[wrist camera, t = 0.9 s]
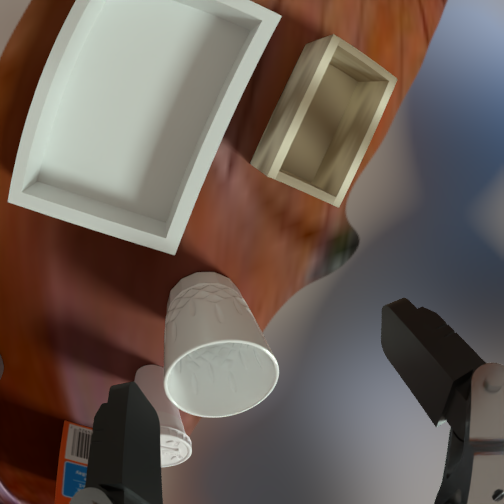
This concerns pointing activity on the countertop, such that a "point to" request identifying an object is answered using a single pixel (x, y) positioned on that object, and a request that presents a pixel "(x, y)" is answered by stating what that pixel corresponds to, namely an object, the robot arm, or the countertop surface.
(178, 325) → the white cup
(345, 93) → the birch crate
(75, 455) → the orange cereal box
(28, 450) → the countertop surface
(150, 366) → the smoothie
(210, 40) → the white crate
